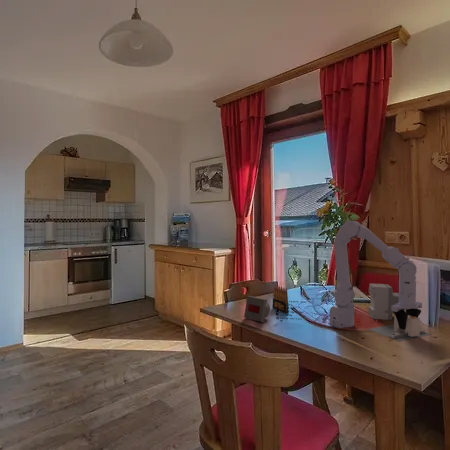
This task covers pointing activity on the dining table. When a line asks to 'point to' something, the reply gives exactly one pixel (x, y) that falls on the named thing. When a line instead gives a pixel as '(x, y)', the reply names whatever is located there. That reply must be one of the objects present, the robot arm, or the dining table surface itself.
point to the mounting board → (390, 329)
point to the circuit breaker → (382, 301)
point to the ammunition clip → (280, 299)
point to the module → (409, 325)
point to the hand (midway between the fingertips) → (406, 328)
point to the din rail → (401, 334)
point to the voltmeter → (262, 309)
